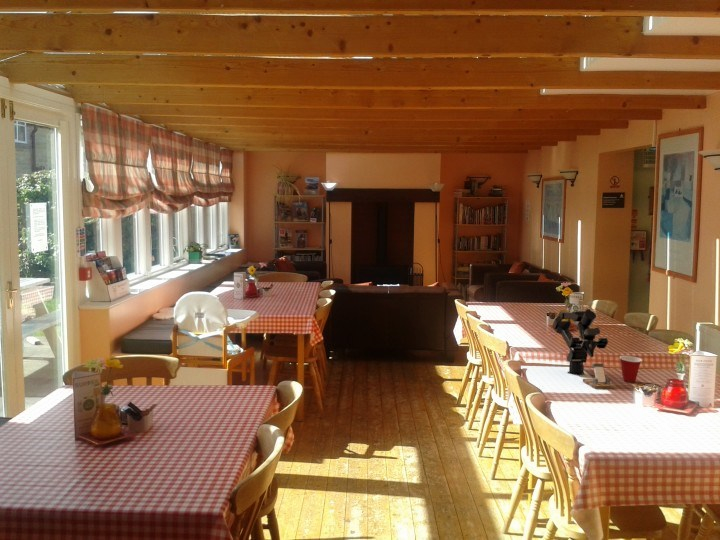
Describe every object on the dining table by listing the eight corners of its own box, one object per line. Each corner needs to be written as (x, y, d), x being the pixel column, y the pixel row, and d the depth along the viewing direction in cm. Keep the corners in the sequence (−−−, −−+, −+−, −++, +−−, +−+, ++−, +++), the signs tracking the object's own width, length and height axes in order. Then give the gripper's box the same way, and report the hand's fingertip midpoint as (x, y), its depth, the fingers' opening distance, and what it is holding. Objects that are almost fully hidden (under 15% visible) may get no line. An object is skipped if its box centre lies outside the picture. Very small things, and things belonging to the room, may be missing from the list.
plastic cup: (630, 384, 354) (631, 360, 353) (613, 379, 364) (614, 356, 363) (645, 382, 359) (647, 358, 358) (628, 378, 369) (629, 355, 368)
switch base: (582, 381, 357) (583, 373, 357) (600, 381, 358) (600, 373, 357) (594, 388, 342) (595, 380, 341) (613, 389, 342) (613, 380, 342)
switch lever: (595, 383, 346) (592, 365, 351) (605, 383, 346) (601, 365, 351) (597, 381, 344) (593, 363, 349) (606, 382, 345) (602, 363, 350)
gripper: (571, 321, 361) (578, 347, 351) (607, 322, 362) (615, 347, 352) (565, 334, 369) (572, 359, 359) (600, 335, 370) (608, 360, 360)
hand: (592, 356), depth 357 cm, fingers closed
